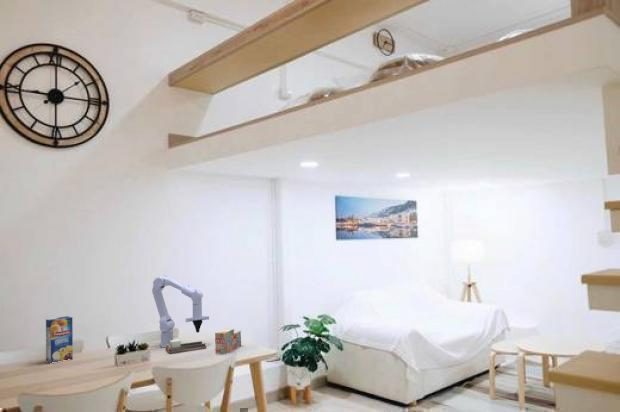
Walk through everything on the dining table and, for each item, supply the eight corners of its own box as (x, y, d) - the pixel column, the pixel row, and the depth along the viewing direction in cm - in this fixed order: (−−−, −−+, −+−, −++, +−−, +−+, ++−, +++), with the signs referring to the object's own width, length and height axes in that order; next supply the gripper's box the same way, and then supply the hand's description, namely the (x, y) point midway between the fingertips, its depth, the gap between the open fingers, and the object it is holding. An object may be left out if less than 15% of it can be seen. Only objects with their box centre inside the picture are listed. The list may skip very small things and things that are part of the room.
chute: (165, 350, 297) (165, 343, 297) (200, 344, 308) (200, 338, 308) (170, 354, 286) (170, 347, 287) (206, 348, 297) (206, 342, 298)
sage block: (170, 348, 295) (169, 340, 295) (178, 347, 297) (178, 339, 298) (172, 350, 291) (172, 341, 291) (180, 349, 293) (180, 340, 293)
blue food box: (67, 357, 286) (67, 316, 288) (72, 359, 281) (72, 317, 283) (45, 361, 278) (45, 319, 279) (50, 363, 273) (50, 320, 274)
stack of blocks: (232, 345, 306) (232, 325, 306) (241, 345, 304) (240, 325, 304) (215, 353, 285) (214, 332, 286) (224, 354, 283) (224, 332, 284)
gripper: (187, 312, 300) (188, 334, 299) (210, 310, 307) (210, 331, 307) (184, 311, 306) (184, 332, 305) (206, 308, 313) (207, 329, 313)
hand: (197, 332), depth 306 cm, fingers closed
